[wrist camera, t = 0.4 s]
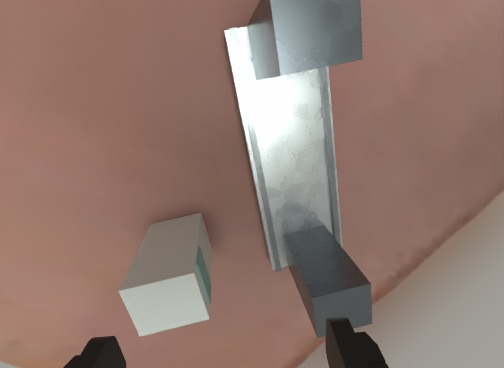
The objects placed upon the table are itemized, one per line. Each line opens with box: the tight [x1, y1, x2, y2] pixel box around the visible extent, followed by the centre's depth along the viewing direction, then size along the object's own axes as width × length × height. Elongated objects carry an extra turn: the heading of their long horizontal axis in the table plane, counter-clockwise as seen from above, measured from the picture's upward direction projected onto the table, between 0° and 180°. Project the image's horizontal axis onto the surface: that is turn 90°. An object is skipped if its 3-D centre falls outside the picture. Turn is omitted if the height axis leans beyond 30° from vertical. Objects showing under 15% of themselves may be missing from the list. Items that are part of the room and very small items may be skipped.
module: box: [119, 213, 211, 336], centre depth 27 cm, size 5×6×11 cm
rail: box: [224, 0, 372, 338], centre depth 24 cm, size 26×9×12 cm, turn 11°
